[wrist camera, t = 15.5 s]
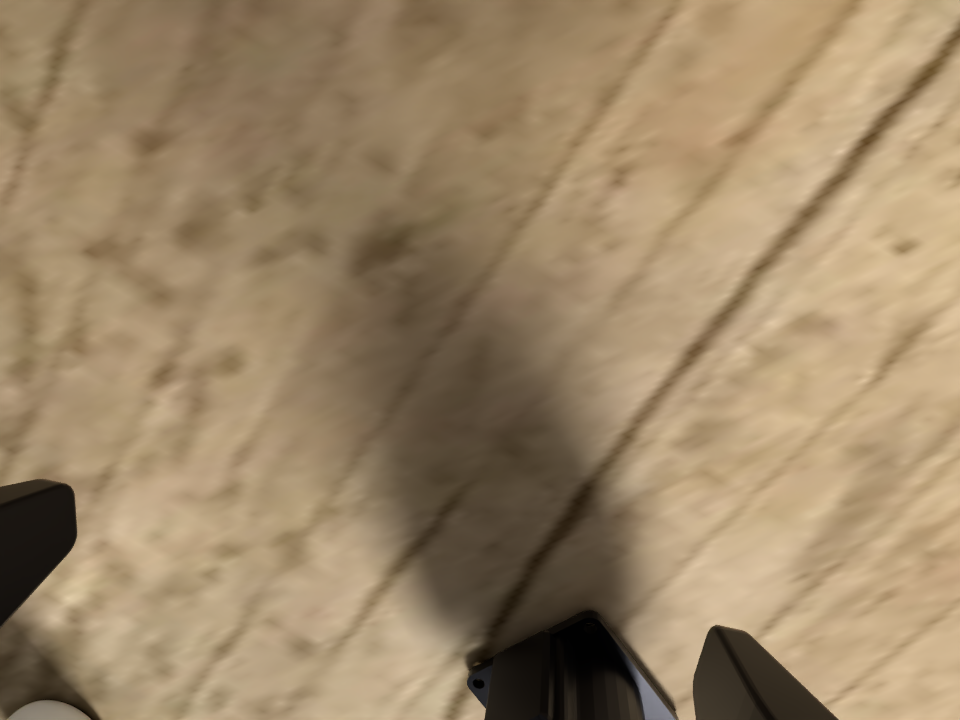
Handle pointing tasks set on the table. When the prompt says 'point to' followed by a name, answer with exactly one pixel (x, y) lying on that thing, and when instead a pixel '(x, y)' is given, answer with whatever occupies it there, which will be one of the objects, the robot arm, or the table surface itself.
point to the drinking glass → (48, 711)
